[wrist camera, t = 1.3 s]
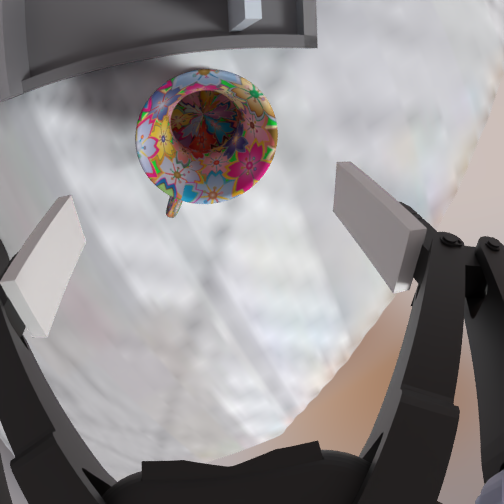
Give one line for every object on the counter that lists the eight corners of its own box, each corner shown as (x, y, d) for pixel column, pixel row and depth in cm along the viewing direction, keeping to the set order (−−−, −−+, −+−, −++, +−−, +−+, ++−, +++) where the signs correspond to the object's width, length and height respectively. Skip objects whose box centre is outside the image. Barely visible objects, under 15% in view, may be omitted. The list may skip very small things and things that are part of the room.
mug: (177, 52, 24) (168, 48, 16) (268, 89, 28) (302, 106, 19) (131, 165, 30) (107, 213, 21) (216, 194, 33) (225, 251, 25)
